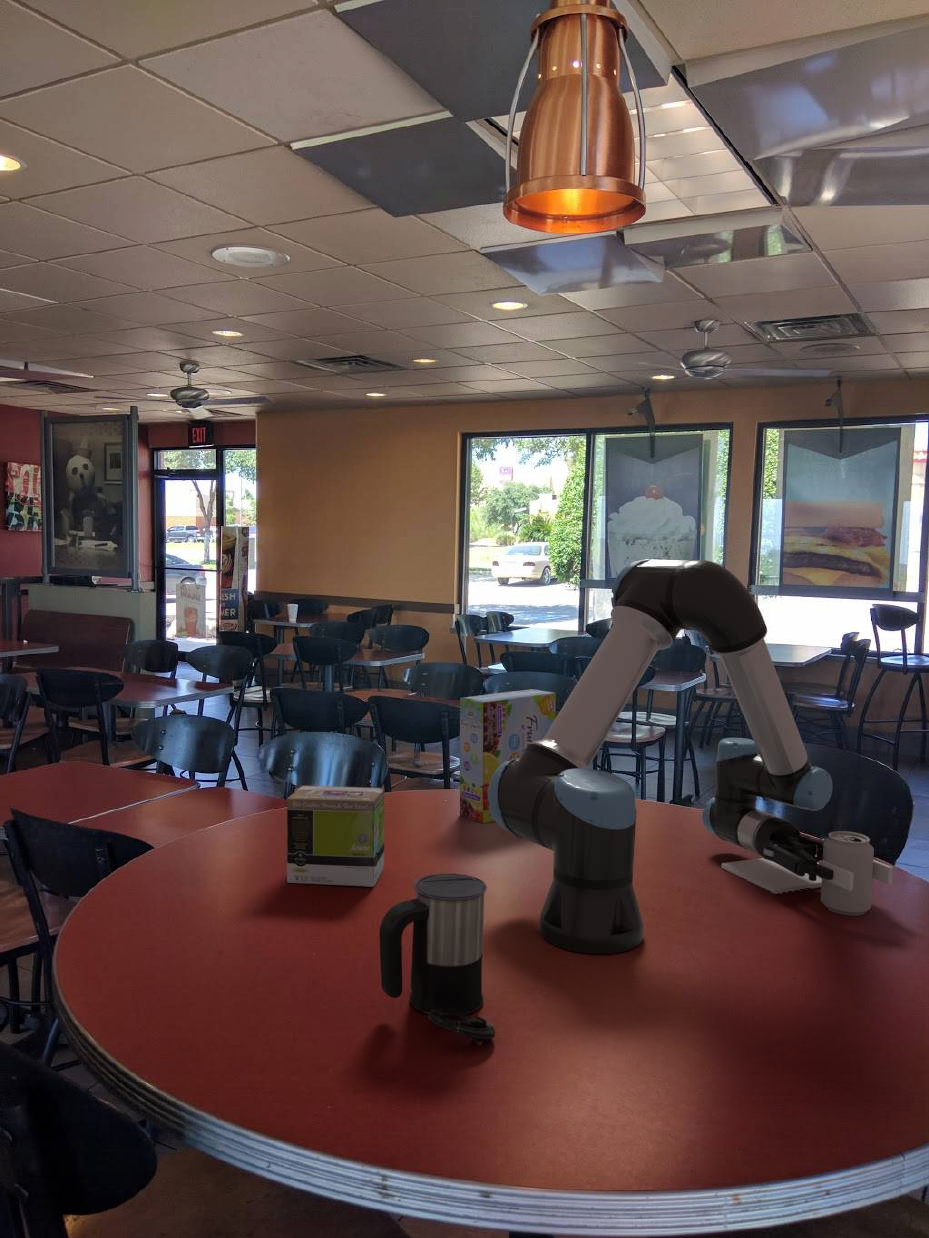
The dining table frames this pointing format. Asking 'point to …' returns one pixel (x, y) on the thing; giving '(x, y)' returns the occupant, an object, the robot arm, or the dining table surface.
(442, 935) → the milk frother
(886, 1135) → the dining table surface
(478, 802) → the snack box
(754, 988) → the dining table surface
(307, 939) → the dining table surface
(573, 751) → the robot arm
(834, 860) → the can
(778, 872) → the placemat
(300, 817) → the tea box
